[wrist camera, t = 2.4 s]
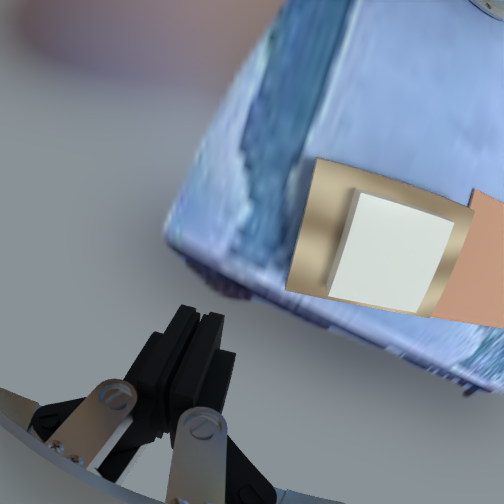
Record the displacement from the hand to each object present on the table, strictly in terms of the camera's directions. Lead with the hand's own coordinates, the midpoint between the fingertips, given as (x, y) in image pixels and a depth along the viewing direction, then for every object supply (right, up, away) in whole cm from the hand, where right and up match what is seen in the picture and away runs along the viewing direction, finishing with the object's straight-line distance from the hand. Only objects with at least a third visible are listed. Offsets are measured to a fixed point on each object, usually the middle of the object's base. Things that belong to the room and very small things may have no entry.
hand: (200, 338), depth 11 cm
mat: (+34, +1, +15) cm, 37 cm away
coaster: (+14, +3, +12) cm, 19 cm away
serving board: (+14, +5, +16) cm, 22 cm away
